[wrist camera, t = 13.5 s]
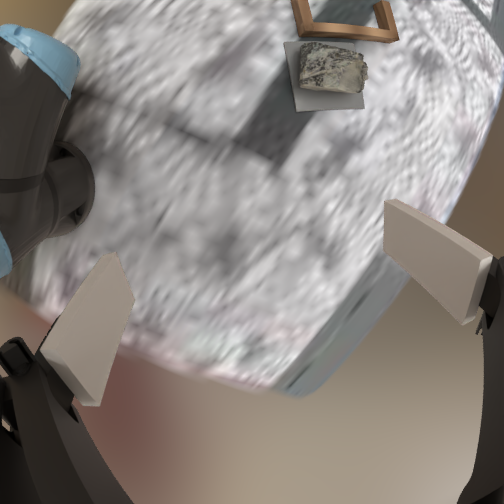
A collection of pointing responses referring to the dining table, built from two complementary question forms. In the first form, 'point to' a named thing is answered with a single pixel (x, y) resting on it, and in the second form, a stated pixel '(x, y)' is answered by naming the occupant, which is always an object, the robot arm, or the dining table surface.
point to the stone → (331, 68)
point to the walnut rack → (313, 29)
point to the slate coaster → (313, 98)
